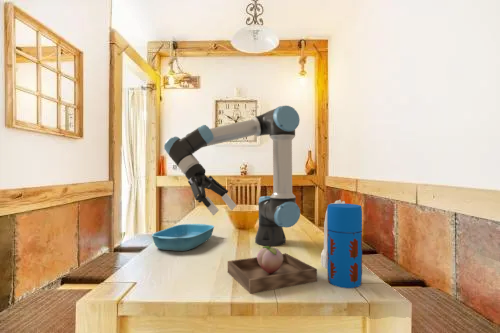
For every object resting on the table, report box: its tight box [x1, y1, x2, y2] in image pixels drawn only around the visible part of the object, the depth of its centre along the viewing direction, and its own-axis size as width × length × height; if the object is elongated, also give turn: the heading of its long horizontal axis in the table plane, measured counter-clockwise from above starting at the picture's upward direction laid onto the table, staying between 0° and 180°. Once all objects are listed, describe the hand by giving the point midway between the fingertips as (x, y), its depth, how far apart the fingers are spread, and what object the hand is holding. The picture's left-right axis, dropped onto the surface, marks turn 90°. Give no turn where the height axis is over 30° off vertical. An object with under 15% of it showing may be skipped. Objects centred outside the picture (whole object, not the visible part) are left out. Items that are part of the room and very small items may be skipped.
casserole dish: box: [151, 223, 215, 252], centre depth 151 cm, size 37×22×7 cm, turn 165°
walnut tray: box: [227, 253, 318, 294], centre depth 106 cm, size 24×20×4 cm
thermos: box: [326, 203, 363, 289], centre depth 101 cm, size 11×11×25 cm
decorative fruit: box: [256, 245, 283, 274], centre depth 106 cm, size 9×8×10 cm
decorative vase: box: [320, 199, 346, 269], centre depth 117 cm, size 11×11×25 cm
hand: (225, 210), depth 115 cm, fingers open, 13 cm apart
